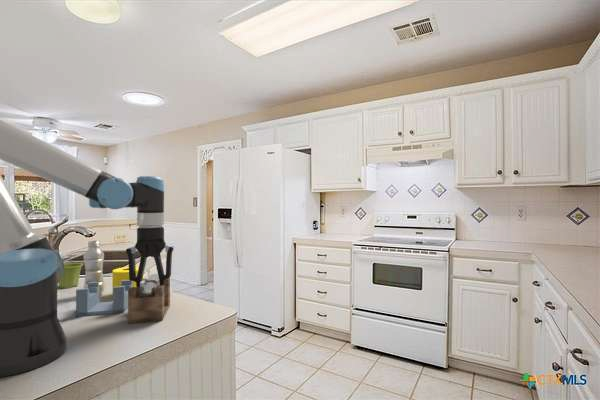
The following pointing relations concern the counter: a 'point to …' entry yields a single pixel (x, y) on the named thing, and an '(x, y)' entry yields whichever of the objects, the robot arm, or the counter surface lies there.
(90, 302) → the blue notched cradle
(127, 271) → the yellow hollow cylinder
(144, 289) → the steel axle
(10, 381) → the counter surface
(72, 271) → the plant pot
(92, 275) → the metal bottle
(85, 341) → the counter surface
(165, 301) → the bearing stand
